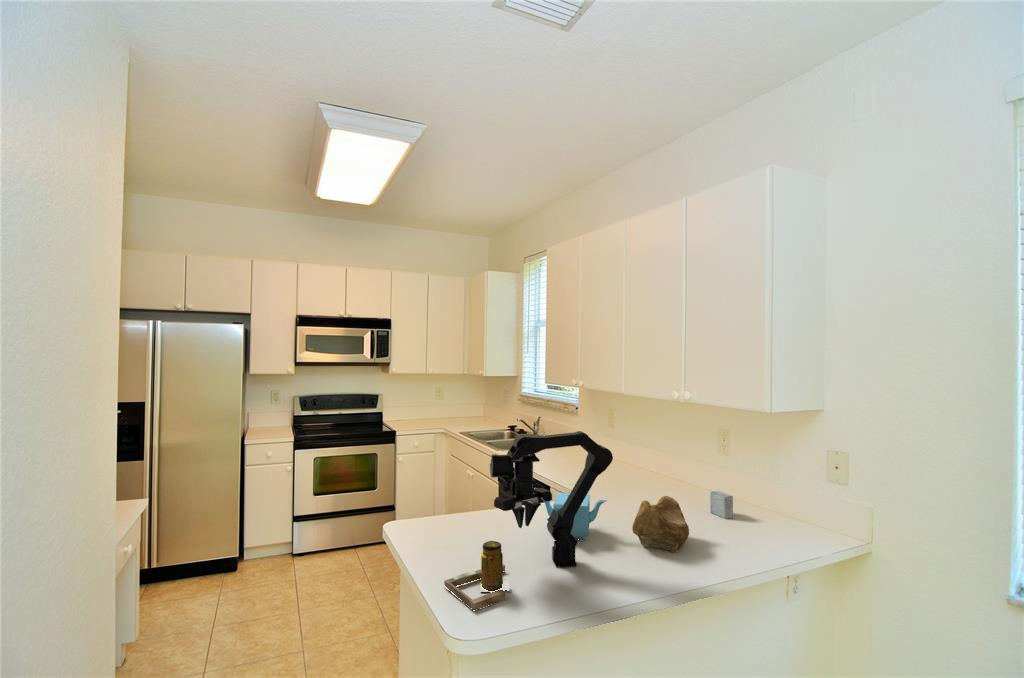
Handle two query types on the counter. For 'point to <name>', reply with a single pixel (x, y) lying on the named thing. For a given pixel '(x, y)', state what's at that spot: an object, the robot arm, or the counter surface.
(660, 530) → the rough brown rock
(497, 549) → the condiment
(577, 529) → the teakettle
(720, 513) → the medicine box
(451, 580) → the rail bay
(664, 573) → the counter surface
